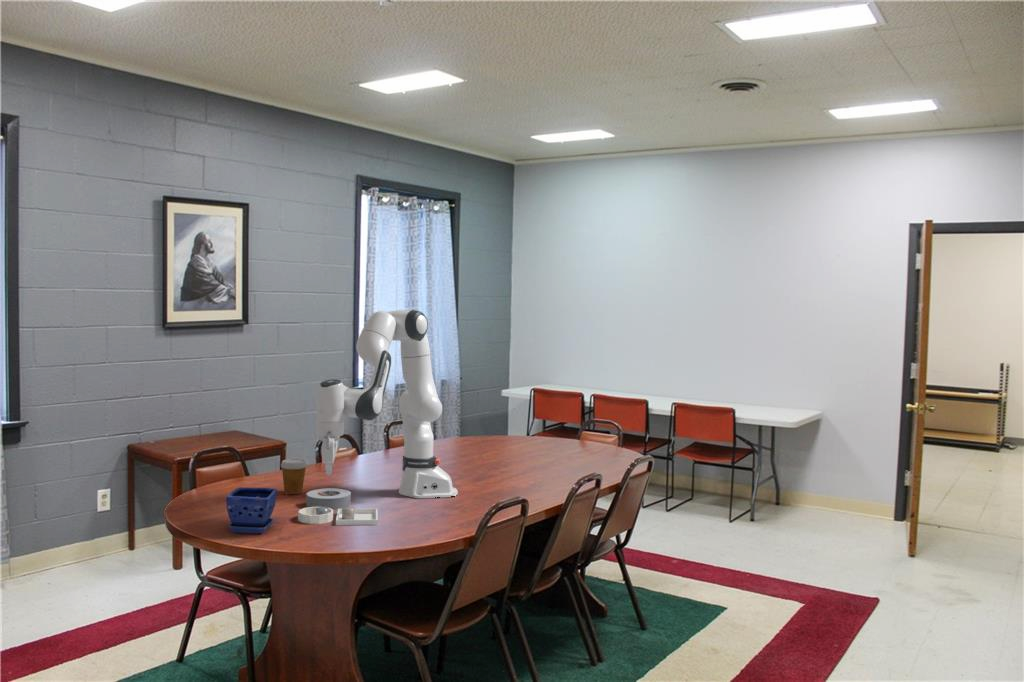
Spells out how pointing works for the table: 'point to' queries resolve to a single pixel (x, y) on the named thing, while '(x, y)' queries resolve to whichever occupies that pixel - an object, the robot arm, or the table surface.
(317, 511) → the pebble
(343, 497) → the tape roll
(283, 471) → the disposable coffee cup
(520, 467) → the table surface
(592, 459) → the table surface
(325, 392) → the robot arm
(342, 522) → the tray
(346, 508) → the pebble
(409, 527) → the table surface
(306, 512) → the bowl
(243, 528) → the flower pot
